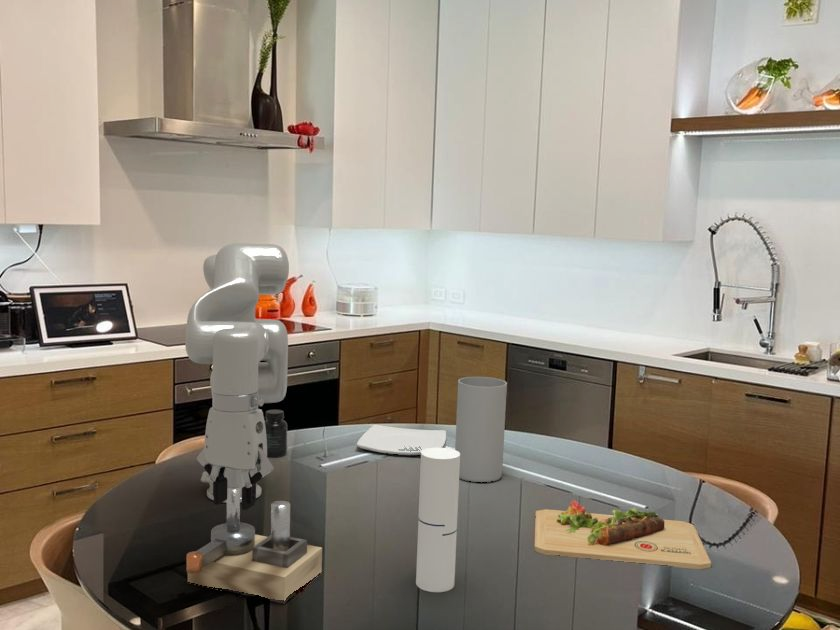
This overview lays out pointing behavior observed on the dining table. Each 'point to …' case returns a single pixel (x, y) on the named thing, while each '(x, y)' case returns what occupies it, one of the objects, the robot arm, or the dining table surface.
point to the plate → (400, 440)
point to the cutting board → (619, 537)
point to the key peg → (280, 525)
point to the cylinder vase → (480, 428)
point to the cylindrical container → (437, 519)
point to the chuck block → (263, 569)
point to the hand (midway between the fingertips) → (234, 503)
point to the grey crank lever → (224, 537)
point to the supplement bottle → (276, 433)
